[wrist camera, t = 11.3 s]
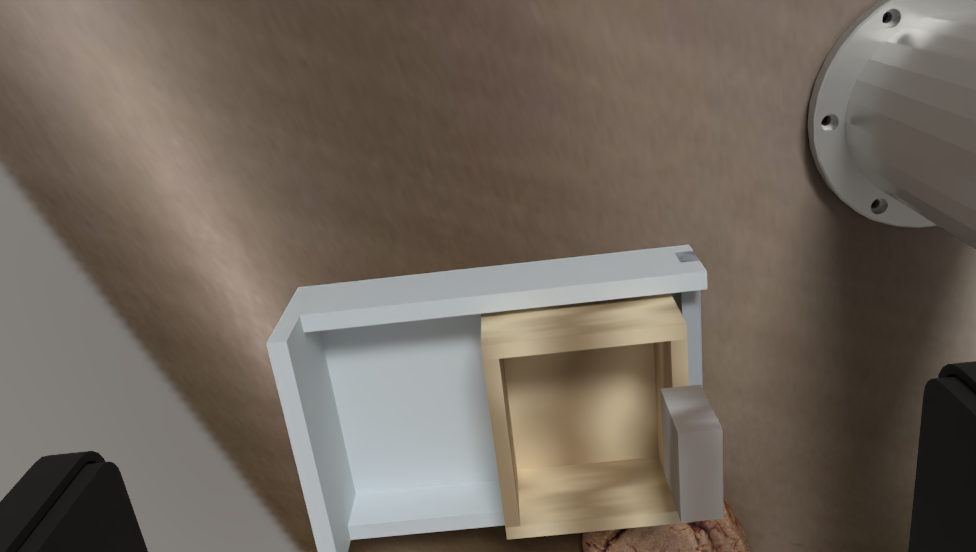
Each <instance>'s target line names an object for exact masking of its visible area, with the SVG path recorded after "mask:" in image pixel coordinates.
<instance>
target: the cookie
mask: <svg viewBox="0 0 976 552" xmlns="http://www.w3.org/2000/svg"><path fill="white" fill-rule="evenodd" d="M582 535H583V537H582V547H583V552H751V550H750V547H749V545H748V540H747V536H746V534H745V532H744V530H743V528H742V527H741V525H740V523H739V522H738V521H737V520H736V518H735V517H734V515H733V513H732V512H731V508H730V507H729V506H728V505H727V504H726V503H725V501H724V500H723V519H715V520H704V521H694V522H689V523H679V524H668V525H657V526H647V527H636V528H625V529H615V530H604V531H594V532H583V534H582Z"/></svg>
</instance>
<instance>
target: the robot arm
mask: <svg viewBox="0 0 976 552" xmlns="http://www.w3.org/2000/svg"><path fill="white" fill-rule="evenodd" d="M886 12H887V14H888V18H887V20H886V21H885V22H883V21H882V19H883V16H884V14H885V13H886ZM825 116H827V117H828V120H827V122H826V123H824V124H821V122H822V119H823V118H824V117H825ZM808 135H809V143H810V150H811V153H812V156H813V159H814V162H815V165H816V168H817V170H818V172H819V173H820V175H821V176H822V178H823V180H824V181H825V183H826V185H827V186H828V187H829V189H830V190H831V191H832V192H833V193H834V194H835V195H836V196H837V197H838V198H839V199H840V200H841V201H842V202H844V203H845V204H847V205H848V206H849V207H851V208H852V209H853V210H855V211H856V212H858V213H860V214H861V215H863V216H865V217H867V218H869V219H871V220H873V221H876V222H880V223H884V224H887V225H891V226H895V227H907V228H924V227H933V226H939V227H941V228H943V229H944V230H946V231H947V232H949V233H951V234H952V235H954V236H956V237H957V238H959V239H960V240H962V241H964V242H965V243H967V244H969V245H970V246H972V247H973V248H975V249H976V0H880V1H879V2H878V3H876V4H875V5H874V6H872V7H871V8H870V9H868V10H867V11H866V12H864V13H863V14H862V15H860V16H859V17H858V18H857V19H856V21H855V22H854V23H853V24H852V25H851V26H850V27H849V28H848V29H847V30H846V31H845V32H844V33H843V34H842V35H841V37H840V38H839V39H838V41H837V42H836V44H835V45H834V47H833V48H832V50H831V51H830V53H829V54H828V56H827V57H826V59H825V61H824V63H823V66H822V68H821V70H820V72H819V74H818V76H817V78H816V81H815V85H814V88H813V92H812V96H811V100H810V103H809V115H808ZM875 200H876V202H875V204H874V205H872V203H873V202H874V201H875ZM0 552H148V551H147V548H146V545H145V542H144V539H143V536H142V534H141V530H140V528H139V525H138V522H137V519H136V516H135V514H134V510H133V507H132V504H131V502H130V499H129V496H128V493H127V490H126V487H125V484H124V481H123V479H122V476H121V473H120V471H119V469H118V467H117V466H116V465H115V464H114V463H112V462H105V460H104V458H103V457H102V456H101V455H100V454H99V453H96V452H93V451H88V452H78V453H69V454H59V455H50V456H45V457H41V458H40V459H39V460H38V461H37V462H35V463H34V465H33V466H32V467H31V468H30V469H29V470H28V471H27V472H26V474H25V475H24V476H23V477H22V478H21V479H20V481H19V482H18V483H17V484H16V485H15V486H14V487H13V489H11V491H10V492H9V493H8V494H7V495H6V496H5V497H4V498H3V500H2V501H1V502H0ZM908 552H976V362H966V363H956V364H948V365H946V366H944V367H943V368H942V370H941V371H940V373H939V376H938V378H936V379H931V380H929V381H928V382H927V384H926V386H925V390H924V396H923V407H922V417H921V427H920V438H919V448H918V458H917V469H916V479H915V489H914V500H913V510H912V520H911V531H910V541H909V551H908Z"/></svg>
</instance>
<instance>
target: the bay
mask: <svg viewBox="0 0 976 552" xmlns="http://www.w3.org/2000/svg"><path fill="white" fill-rule="evenodd" d="M706 289H707V271H706V269H705V268H704V266H703V265H702V263H701V262H700V260H699V259H698V257H697V256H696V254H695V253H694V251H693V250H692V248H691V247H690V246H689V245H680V246H671V247H662V248H653V249H644V250H634V251H625V252H616V253H607V254H598V255H589V256H580V257H571V258H561V259H552V260H543V261H534V262H525V263H516V264H507V265H498V266H489V267H479V268H470V269H461V270H452V271H443V272H434V273H425V274H416V275H406V276H397V277H388V278H379V279H370V280H361V281H352V282H343V283H334V284H324V285H315V286H306V287H298V288H297V290H296V292H295V294H294V295H293V297H292V299H291V301H290V302H289V304H288V306H287V308H286V309H285V311H284V313H283V315H282V317H281V318H280V320H279V322H278V324H277V325H276V327H275V329H274V331H273V332H272V334H271V336H270V338H269V339H268V341H267V343H266V345H267V349H268V353H269V357H270V361H271V365H272V369H273V373H274V377H275V381H276V385H277V389H278V393H279V397H280V401H281V405H282V409H283V413H284V417H285V421H286V425H287V429H288V434H289V438H290V442H291V446H292V450H293V454H294V458H295V462H296V466H297V470H298V474H299V478H300V482H301V486H302V490H303V494H304V498H305V502H306V506H307V510H308V514H309V518H310V522H311V526H312V530H313V535H314V539H315V543H316V547H317V551H318V552H348V550H349V546H350V542H351V540H356V539H366V538H377V537H387V536H398V535H409V534H419V533H430V532H440V531H451V530H461V529H472V528H482V527H493V526H503V525H505V521H504V514H503V506H502V499H501V492H500V484H499V477H498V470H497V462H496V455H495V448H494V440H493V433H492V426H491V418H490V411H489V404H488V396H487V389H486V382H485V374H484V367H483V360H482V352H481V314H482V313H491V312H500V311H510V310H519V309H528V308H538V307H547V306H556V305H566V304H575V303H584V302H594V301H603V300H612V299H622V298H631V297H640V296H650V295H659V294H668V293H671V295H672V297H673V299H674V301H675V302H676V304H677V306H678V308H679V310H680V312H681V314H682V316H683V318H684V320H685V321H686V323H687V342H688V377H689V386H691V385H701V386H702V342H701V295H700V290H706Z"/></svg>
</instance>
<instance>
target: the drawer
mask: <svg viewBox="0 0 976 552" xmlns="http://www.w3.org/2000/svg"><path fill="white" fill-rule="evenodd" d="M481 352H482V360H483V367H484V374H485V382H486V389H487V396H488V404H489V411H490V418H491V426H492V433H493V440H494V448H495V455H496V462H497V470H498V477H499V484H500V492H501V499H502V506H503V514H504V521H505V528H506V536H507V540H508V539H519V538H530V537H540V536H551V535H562V534H572V533H583V532H594V531H604V530H615V529H625V528H636V527H647V526H657V525H668V524H679V523H689V522H694V521H704V520H715V519H723V430H722V427H721V425H720V423H719V421H718V419H717V417H716V415H715V413H714V410H713V408H712V406H711V404H710V402H709V400H708V398H707V396H706V394H705V392H704V390H703V388H702V386H701V385H691V386H689V377H688V342H687V323H686V321H685V320H684V318H683V316H682V314H681V312H680V310H679V308H678V306H677V304H676V302H675V301H674V299H673V297H672V295H671V293H668V294H659V295H650V296H640V297H631V298H622V299H612V300H603V301H594V302H584V303H575V304H566V305H556V306H547V307H538V308H528V309H519V310H510V311H500V312H491V313H482V314H481Z"/></svg>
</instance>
